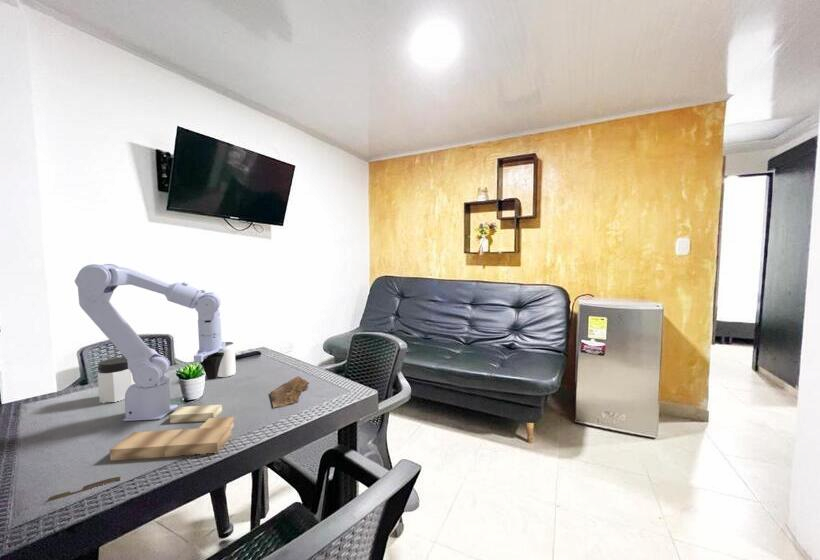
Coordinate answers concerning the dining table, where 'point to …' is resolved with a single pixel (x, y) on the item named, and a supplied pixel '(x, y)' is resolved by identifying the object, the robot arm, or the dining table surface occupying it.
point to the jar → (114, 379)
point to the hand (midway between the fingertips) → (212, 378)
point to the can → (227, 361)
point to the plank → (195, 413)
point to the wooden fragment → (288, 392)
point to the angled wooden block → (175, 441)
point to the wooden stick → (85, 488)
